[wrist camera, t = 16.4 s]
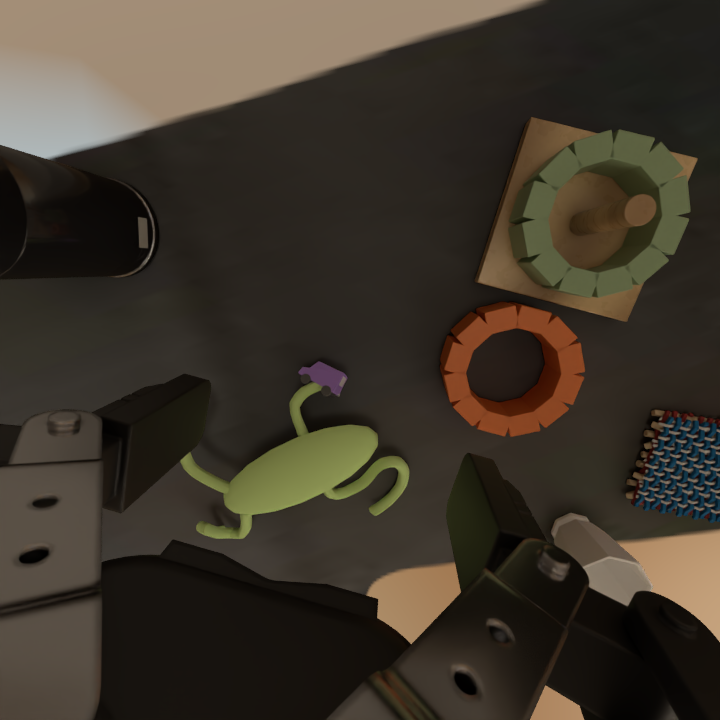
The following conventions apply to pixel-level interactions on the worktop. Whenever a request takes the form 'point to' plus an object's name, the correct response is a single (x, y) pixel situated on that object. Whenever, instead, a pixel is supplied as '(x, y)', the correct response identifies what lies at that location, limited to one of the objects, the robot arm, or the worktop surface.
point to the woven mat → (680, 467)
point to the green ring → (642, 243)
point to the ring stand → (568, 222)
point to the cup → (600, 558)
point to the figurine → (302, 464)
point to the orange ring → (538, 402)
